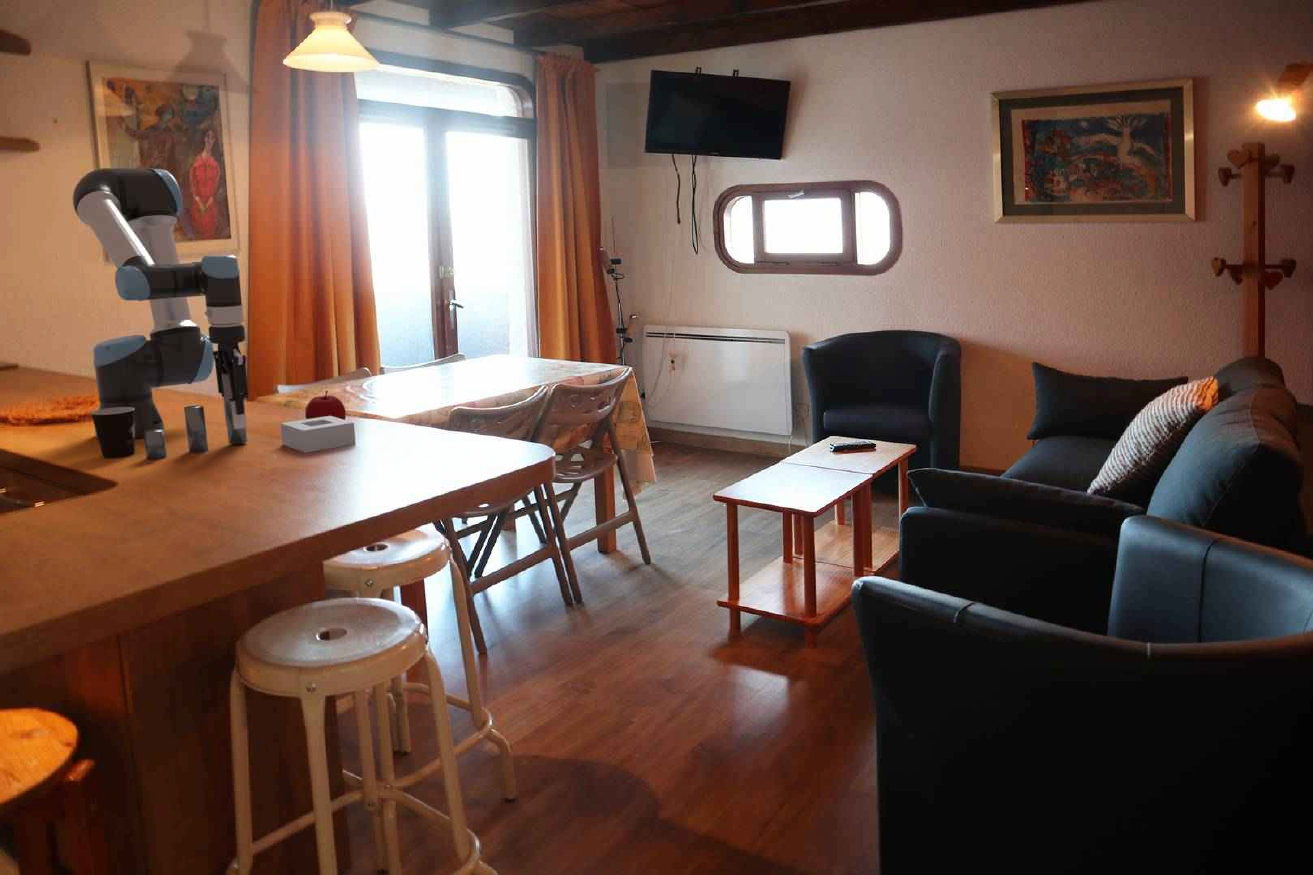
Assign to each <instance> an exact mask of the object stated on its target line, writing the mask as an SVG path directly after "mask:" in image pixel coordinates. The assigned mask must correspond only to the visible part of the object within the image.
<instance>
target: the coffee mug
mask: <svg viewBox="0 0 1313 875" xmlns="http://www.w3.org/2000/svg"><path fill="white" fill-rule="evenodd" d="M91 417H92V421H93V424H94V430H95V429H96V433H97V437H98V438H97V440H98V443H99V447H100V451H101V455H102V458H104V459H120V458H127V457H131V456H133V455H135V452H136V450H135V448H136V444H135V443H136V442H135V441H136V438H135V408H131V407H117V408H107V409H100V410H99V409H97V410H93V411H91Z"/></svg>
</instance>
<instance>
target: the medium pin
mask: <svg viewBox="0 0 1313 875" xmlns="http://www.w3.org/2000/svg"><path fill="white" fill-rule="evenodd" d="M204 406H205V405H200V404H197V405H189V406H185V407H183V408H184V410H183V411H184V418H185V419H184V420H185V427H186V435H187V445H188V452H189V453H192V454H200V453H205V452H209V443H208V435H207V434H208V433H207V427H206V418H205V417H206V416H205V407H204Z"/></svg>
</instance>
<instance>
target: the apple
mask: <svg viewBox="0 0 1313 875" xmlns="http://www.w3.org/2000/svg"><path fill="white" fill-rule="evenodd" d="M328 392H329V391H328V390H325V394H324V395H322V396H321V395H320V396H315V397H312V399H310V401H309V402H308V403H307V406H306V408H305V420H306V419H312V418H319V417H325V416H333V417H336V418H340V419H343V420H346V416H347V415H346V414H347V412H346V411H347V410H346V407H345V405H344V404H343V402H342V401H341V400H340V399H339V398H338V397H336V396H334V395H327V394H328Z"/></svg>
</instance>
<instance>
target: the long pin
mask: <svg viewBox="0 0 1313 875" xmlns="http://www.w3.org/2000/svg"><path fill="white" fill-rule="evenodd" d="M222 383H223V393H224V397H223V398H224V402H223V404H224V403H225V412H224V414H225V413H226V421H225V423H226V422H227V426H226V430H227V431H226V432H227V441H228V444H230V445H237V444H238V445H239V444H244V443H247V442H248V438H247V437H248V436H247V428H240V429H234V427H233V417H232V407H231V401H230V400H229V399H232V393H231V387H230V381H229V375H228V373H222Z"/></svg>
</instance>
